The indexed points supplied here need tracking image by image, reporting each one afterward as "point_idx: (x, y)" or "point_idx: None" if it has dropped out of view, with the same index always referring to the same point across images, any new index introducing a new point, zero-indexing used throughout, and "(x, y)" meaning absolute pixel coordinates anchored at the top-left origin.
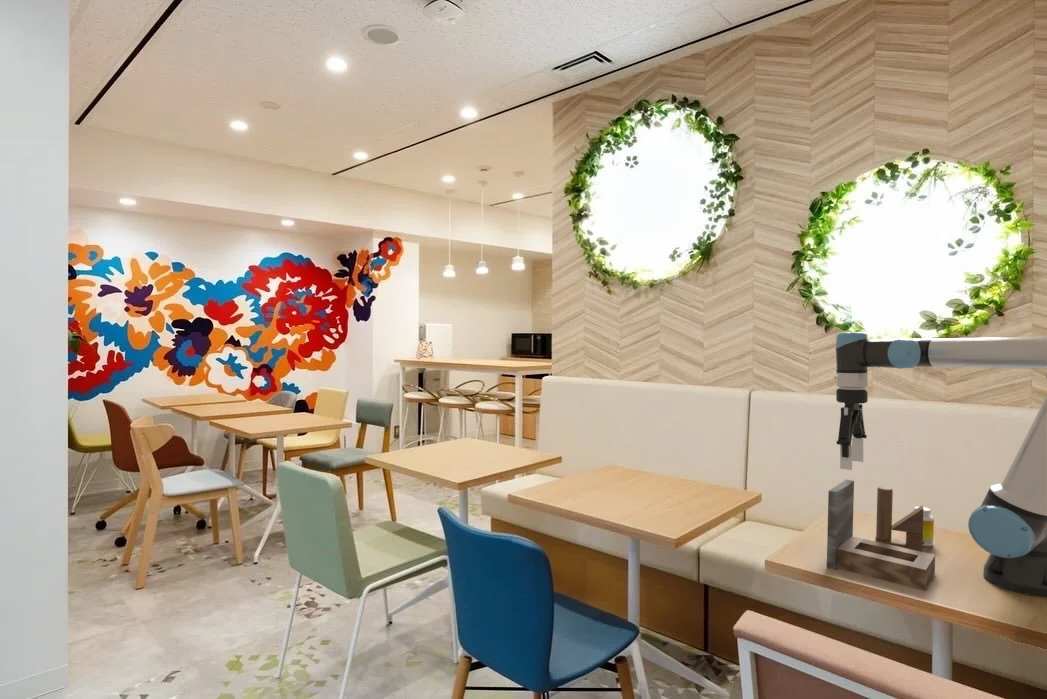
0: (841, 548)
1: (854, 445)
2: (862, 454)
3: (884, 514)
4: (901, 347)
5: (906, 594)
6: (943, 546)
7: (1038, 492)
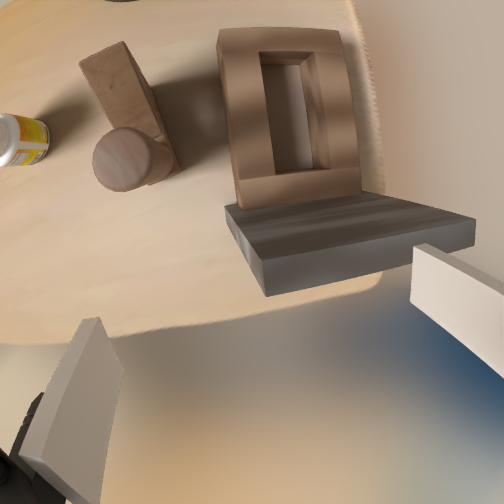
0: (354, 188)
1: (98, 446)
2: (83, 351)
3: (164, 151)
4: None
5: (361, 66)
6: (20, 109)
7: None
